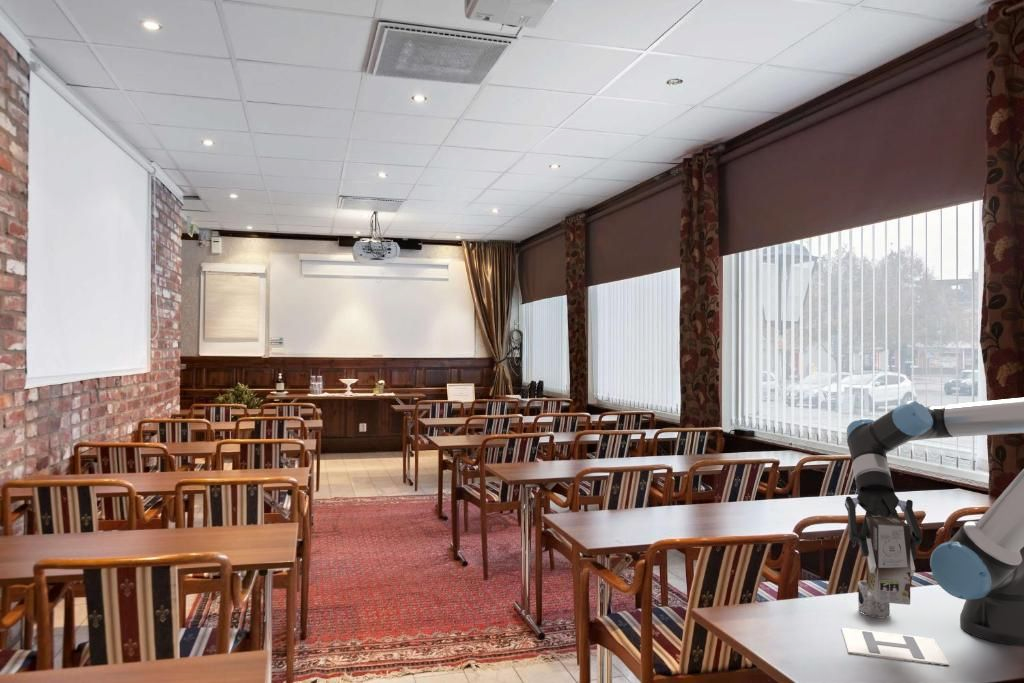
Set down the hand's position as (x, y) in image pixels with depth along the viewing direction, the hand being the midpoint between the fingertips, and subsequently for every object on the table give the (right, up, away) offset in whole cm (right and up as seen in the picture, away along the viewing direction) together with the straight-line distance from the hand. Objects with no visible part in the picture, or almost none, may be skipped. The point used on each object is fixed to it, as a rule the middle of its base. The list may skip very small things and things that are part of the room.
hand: (892, 571), depth 148 cm
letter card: (+1, -17, +2) cm, 17 cm away
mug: (+7, -17, +22) cm, 29 cm away
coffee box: (+1, -7, +3) cm, 8 cm away
